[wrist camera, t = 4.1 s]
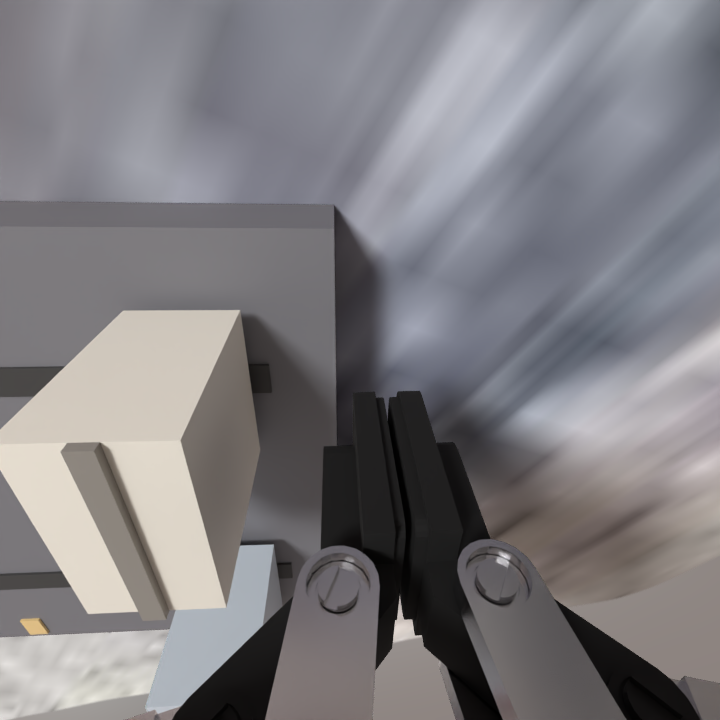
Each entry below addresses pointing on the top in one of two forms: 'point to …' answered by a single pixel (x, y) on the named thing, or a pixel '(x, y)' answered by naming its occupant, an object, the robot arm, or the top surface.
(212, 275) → the fader console
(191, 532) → the cream fader
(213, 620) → the grey fader
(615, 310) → the top surface
